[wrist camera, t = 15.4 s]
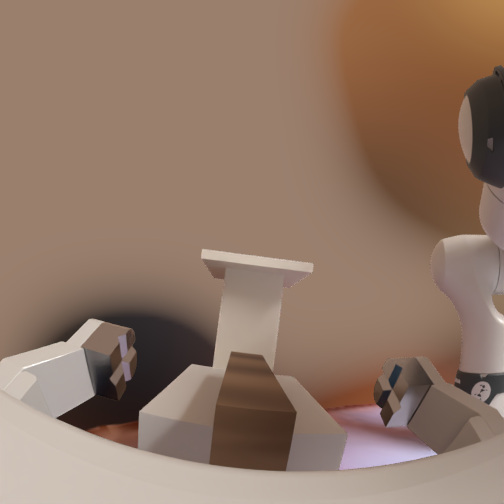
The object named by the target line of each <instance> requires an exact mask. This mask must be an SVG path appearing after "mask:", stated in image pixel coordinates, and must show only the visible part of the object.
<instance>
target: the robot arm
mask: <svg viewBox="0 0 504 504" xmlns="http://www.w3.org/2000/svg"><path fill="white" fill-rule="evenodd" d="M458 124H459V125H458V126H459V137H460V142H461V146H462V149H463V152H464V155H465V157H466V161H467V166H468V167H469V169H470V170H471V172H472V173H473V175H474V177H475V178H477V179H479V180H481V181H483V182H484V186H483V192H482V197H481V202H480V207H479V216H480V221H481V224H482V227H483V229H484V231H485V232H486V233H487V235H459V236H454V237H449V238H445V239H442V240H440V241H439V243H438V244H437V245H436V247H435V248H434V250H433V253H432V256H431V262H430V263H431V264H430V269H431V275H432V278H433V280H434V282H435V284H436V286H437V287H438V288H439V289H440V290H441V291H442V292H443V293H444V294H445V295H446V296H447V297H448V298H449V299H450V300H451V301H452V303H453V305H454V306H455V308H456V310H457V312H458V315H459V318H460V321H461V327H462V351H461V361H460V368H459V370H458V371H457V374H456V377H455V385H454V386H453V385H452V384H450V383H447V384H446V382H445V381H444V380H443V378H442V377H441V375H440V374H439V373H438V372H437V370H436V369H435V367H434V366H433V365H432V363H431V362H430V360H429V359H428V358H426V357H413V358H388V359H387V360H386V361H385V363H384V365H383V367H382V369H383V372H384V374H382V375H381V376H380V377H379V378H378V379H377V381H376V384H375V387H374V400H375V402H376V404H377V405H378V406H379V407H381V408H382V410H381V413H380V415H381V417H382V420H383V422H384V424H385V427H397V426H407V427H408V428H409V429H410V430H411V431H412V432H413V433H414V434H415V435H417V436H418V437H419V438H420V439H421V440H422V441H423V442H424V443H426V444H427V445H428V446H429V447H430V448H431V449H432V450H433V451H435V452H436V453H437V454H438V455H434V456H430V457H425V458H421V459H416V460H411V461H406V462H401V463H395V464H389V465H383V466H375V467H367V468H358V469H347V470H332V471H268V470H253V469H242V468H233V467H225V466H217V465H210V464H204V463H198V462H192V461H187V460H182V459H177V458H173V457H168V456H164V455H160V454H155V453H152V452H148V451H144V450H140V449H137V448H133V447H130V446H127V445H123V444H120V443H117V442H114V441H111V440H108V439H105V438H102V437H100V436H97V435H94V434H91V433H89V432H86V431H84V430H81V429H79V428H76V427H74V426H71V425H69V424H67V423H64V422H62V421H60V420H58V419H56V417H58V416H60V415H62V414H64V413H65V412H67V411H69V410H70V409H72V408H74V407H75V406H78V405H79V404H81V403H83V402H85V401H86V400H88V399H89V398H91V397H93V396H94V395H95V394H96V395H99V396H102V397H106V398H109V399H113V400H116V401H119V400H120V398H121V396H122V394H123V392H124V391H125V389H126V383H125V381H127V380H130V379H131V378H132V376H133V374H134V372H135V368H136V363H137V355H136V351H135V350H134V348H133V347H132V345H133V343H134V342H135V335H134V331H133V330H132V329H130V328H126V327H122V326H118V325H114V324H111V323H107V322H103V321H99V320H95V319H89V320H88V321H87V322H86V323H85V324H84V325H83V326H82V327H81V328H80V329H79V330H78V331H77V332H76V333H75V334H74V335H73V336H72V337H71V338H70V339H69V340H68V341H67V342H66V343H65V342H59V343H56V344H52V345H49V346H45V347H42V348H39V349H36V350H32V351H29V352H25V353H22V354H18V355H15V356H11V357H8V358H4V359H3V360H2V361H1V362H0V504H504V316H503V315H502V314H501V313H499V312H498V311H497V310H496V308H495V307H494V304H493V301H492V295H498V294H504V68H503V67H502V66H501V65H500V66H497V67H495V68H494V71H493V75H491V76H488V77H485V78H482V79H479V80H477V81H476V82H475V83H474V84H473V85H472V86H471V87H470V88H469V89H468V90H467V91H466V92H465V95H464V101H463V103H462V106H461V109H460V114H459V123H458Z"/></svg>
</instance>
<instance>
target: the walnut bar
mask: <svg viewBox="0 0 504 504" xmlns="http://www.w3.org/2000/svg"><path fill="white" fill-rule="evenodd" d="M296 415H297V411H296V410H295V408H294V407H293V405H292V403H291V402H290V400H289V399H288V397H287V395H286V394H285V392H284V390H283V389H282V387H281V385H280V384H279V382H278V380H277V379H276V377H275V375H274V374H273V372H272V370H271V369H270V367H269V365H268V364H267V362H266V360H265V359H264V357H263V355H258V354H249V353H241V352H233V351H231V354H230V357H229V361H228V364H227V367H226V371H225V374H224V378H223V381H222V385H221V388H220V392H219V395H218V399H217V402H216V407H215V416H214V425H213V433H212V442H211V451H210V461H209V464H210V465H217V466H225V467H233V468H242V469H253V470H268V471H286V468H287V463H288V458H289V453H290V448H291V443H292V437H293V432H294V426H295V420H296Z"/></svg>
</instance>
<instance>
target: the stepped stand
mask: <svg viewBox="0 0 504 504" xmlns="http://www.w3.org/2000/svg"><path fill="white" fill-rule="evenodd" d="M201 259H202V260H203V262H204V263H205V265H206V266H207V268H208V269H209V271H210V272H211V274H212V276H213V277H214V278H217V279H224V286H223V293H222V300H221V308H220V315H219V323H218V330H217V338H216V346H215V354H214V363H213V367H206V366H200V365H194V364H192V365H190V366H189V367H188V368H187V369H186V370H185V371H184V372H183V373H182V374H181V375H180V376H179V377H177V378H176V379H175V380H174V381H173V382H172V383H171V384H170V385H168V387H166V388H165V389H164V390H163V391H162V392H161V393H160V394H159V395H157V396H156V397H155V398H154V399H153V400H152V401H151V402H150V403H148V404H147V405H146V406H145V407H144V408H143V409H142V410H140V411H139V429H138V449H140V450H144V451H148V452H152V453H155V454H160V455H164V456H168V457H173V458H177V459H182V460H187V461H192V462H198V463H204V464H209V461H210V451H211V442H212V433H213V425H214V416H215V407H216V402H217V399H218V395H219V392H220V388H221V385H222V381H223V378H224V374H225V371H226V367H227V364H228V361H229V357H230V354H231V351H233V352H241V353H249V354H258V355H263V357H264V359H265V360H266V362H267V364H268V365H269V367H270V369H271V370H272V372H273V366H274V359H275V350H276V343H277V335H278V327H279V319H280V311H281V302H282V293H283V287H287V288H289V287H291V286H293V285H294V284H296V283H297V282H299V281H300V280H302V279H303V278H305V277H306V276H308V275H310V274H311V273H312V272H313V263H306V262H297V261H290V260H283V259H275V258H267V257H260V256H252V255H244V254H236V253H229V252H221V251H214V250H206V249H203V250H202V255H201ZM275 377H276V379H277V380H278V382H279V384H280V385H281V387H282V389H283V390H284V392H285V394H286V395H287V397H288V399H289V400H290V402H291V403H292V405H293V407H294V408H295V410H296V411H297V415H296V420H295V426H294V432H293V437H292V443H291V448H290V453H289V458H288V463H287V468H286V471H332V470H339V467H340V464H341V460H342V456H343V452H344V448H345V443H346V439H347V435H348V433H347V432H346V431H345V430H344V429H343V428H342V427H341V426H340V425H339V424H338V423H337V422H336V421H335V420H334V419H333V418H332V417H331V416H330V415H329V414H328V413H327V412H326V411H325V410H324V409H323V408H322V407H321V406H320V404H318V402H317V401H316V400H315V399H314V398H313V397H312V396H311V395H310V394H309V393H308V392H307V391H306V390H305V389H304V388H303V387H302V386H301V384H300V383H299V382H298V381H297V380H296V379H295V378H294V377H293V376H281V375H275Z"/></svg>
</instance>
